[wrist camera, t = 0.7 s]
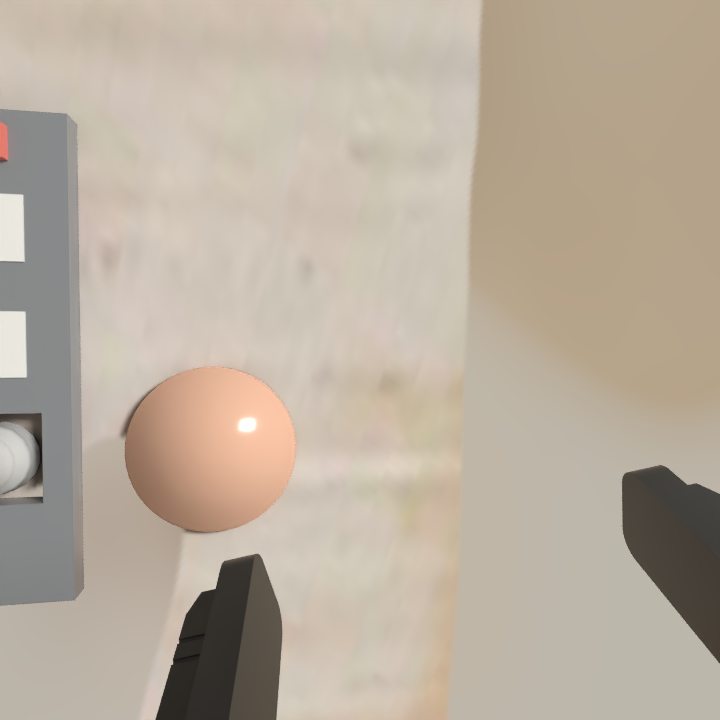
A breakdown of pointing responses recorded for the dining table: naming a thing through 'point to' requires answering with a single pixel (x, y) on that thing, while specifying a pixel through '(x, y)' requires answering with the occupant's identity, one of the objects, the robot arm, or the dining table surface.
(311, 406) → the dining table surface
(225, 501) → the peach dome
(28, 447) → the rook chess piece
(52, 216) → the power strip
